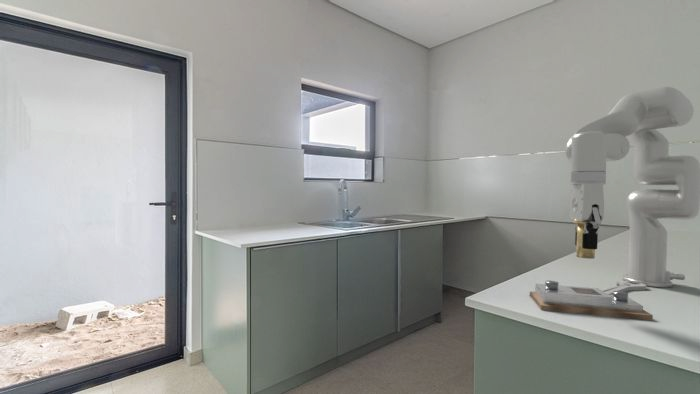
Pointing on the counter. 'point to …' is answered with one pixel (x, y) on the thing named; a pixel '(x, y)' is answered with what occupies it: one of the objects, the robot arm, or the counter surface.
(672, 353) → the counter surface
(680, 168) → the robot arm
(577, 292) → the metal plate with bolts
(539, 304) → the board
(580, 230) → the bolt
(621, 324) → the counter surface
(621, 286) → the adjustable wrench
